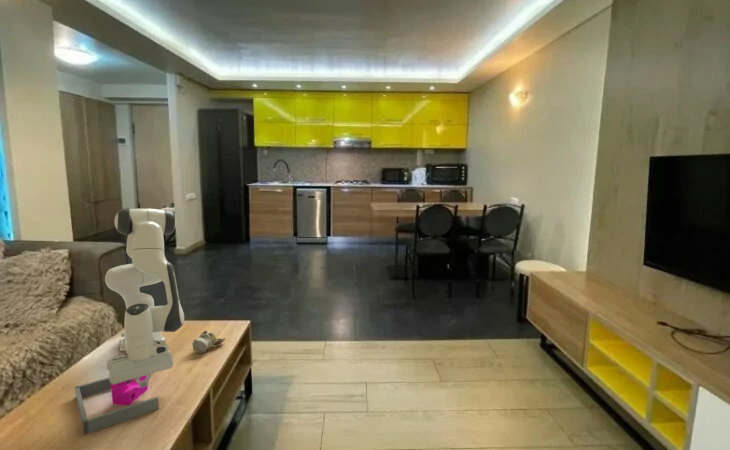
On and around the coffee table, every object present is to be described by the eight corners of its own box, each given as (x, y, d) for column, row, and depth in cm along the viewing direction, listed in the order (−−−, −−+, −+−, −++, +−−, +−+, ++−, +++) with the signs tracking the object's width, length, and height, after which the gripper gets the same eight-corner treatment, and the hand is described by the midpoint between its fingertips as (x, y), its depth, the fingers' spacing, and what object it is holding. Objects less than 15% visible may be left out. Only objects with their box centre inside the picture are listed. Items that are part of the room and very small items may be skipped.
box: (75, 397, 146) (74, 386, 146) (141, 377, 160) (141, 368, 159) (84, 434, 126) (83, 422, 126) (158, 409, 140) (158, 398, 139)
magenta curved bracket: (129, 405, 142) (128, 385, 141) (112, 404, 142) (110, 384, 141) (155, 382, 157) (153, 364, 156) (139, 382, 157) (138, 363, 156)
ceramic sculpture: (185, 334, 179) (206, 324, 194) (185, 353, 180) (206, 341, 194) (205, 337, 176) (226, 326, 191) (205, 357, 177) (226, 344, 192)
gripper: (108, 362, 136) (111, 400, 138) (173, 345, 149) (175, 380, 151) (105, 355, 141) (108, 392, 143) (168, 339, 154) (170, 374, 156)
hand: (143, 386), depth 147 cm, fingers closed
